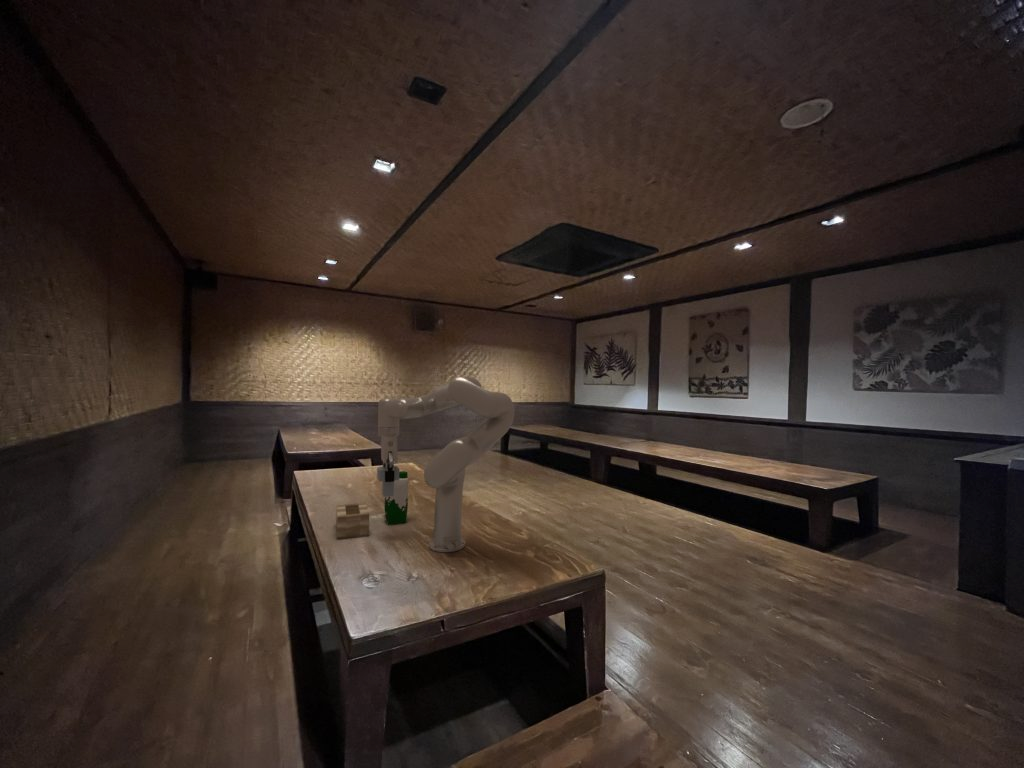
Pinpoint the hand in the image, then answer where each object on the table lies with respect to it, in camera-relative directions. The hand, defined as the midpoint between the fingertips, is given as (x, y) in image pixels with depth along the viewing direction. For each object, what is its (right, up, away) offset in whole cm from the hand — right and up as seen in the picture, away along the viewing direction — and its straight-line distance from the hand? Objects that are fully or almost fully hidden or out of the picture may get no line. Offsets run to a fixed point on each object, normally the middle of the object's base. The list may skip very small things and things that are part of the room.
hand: (388, 479), depth 146 cm
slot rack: (-15, -21, +4) cm, 26 cm away
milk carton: (-2, -21, +16) cm, 27 cm away
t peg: (0, -6, 0) cm, 6 cm away
